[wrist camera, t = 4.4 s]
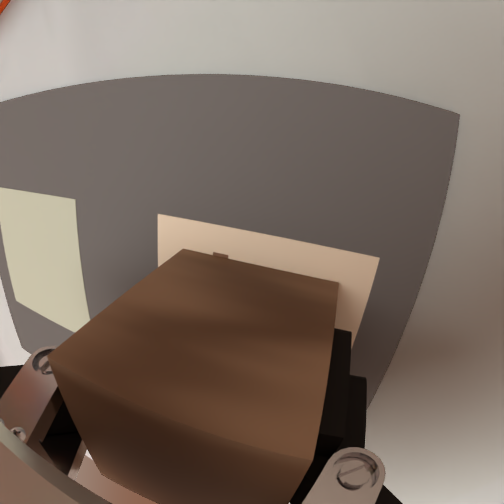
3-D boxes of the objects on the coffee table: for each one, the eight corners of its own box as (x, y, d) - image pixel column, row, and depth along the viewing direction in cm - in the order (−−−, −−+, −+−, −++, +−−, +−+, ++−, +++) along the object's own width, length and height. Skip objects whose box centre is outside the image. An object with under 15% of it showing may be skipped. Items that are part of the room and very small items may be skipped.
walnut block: (339, 282, 9) (313, 460, 4) (305, 397, 11) (265, 539, 6) (183, 248, 10) (46, 356, 5) (183, 362, 12) (101, 474, 7)
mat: (457, 114, 7) (460, 114, 6) (329, 469, 13) (329, 473, 13) (-13, 106, 11) (-16, 107, 11) (23, 346, 18) (21, 348, 17)
